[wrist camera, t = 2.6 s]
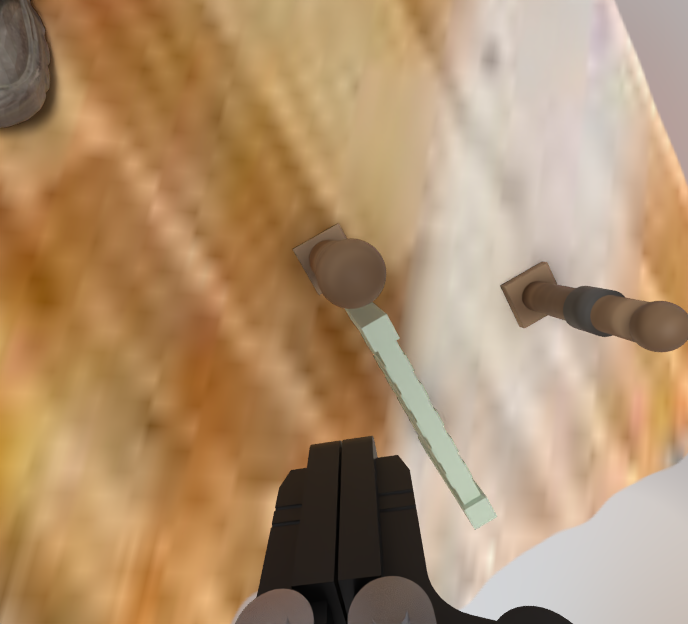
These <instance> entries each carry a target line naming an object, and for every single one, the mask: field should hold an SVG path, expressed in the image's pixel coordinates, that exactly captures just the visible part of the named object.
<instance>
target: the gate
mask: <svg viewBox="0 0 688 624" xmlns="http://www.w3.org/2000/svg"><path fill="white" fill-rule="evenodd" d="M345 310H346V312H347V314H348V315H349V317H350V319H351V320H352V322H353V323H354V324H355V326H356V327H357V329H358V330H359V331H360V333H361V335H362V337H363V339H364V340H365V342H366V344H367V346H368V347H369V349H370V350H371V351H372V353H373V354H374V358H375V360H376V362H377V363H378V365H379V367H380V368H381V370H382V371H383V373H384V374H385V376H386V379H387V381H388V383H389V384H390V386H391V388H392V390H393V391H394V393H395V394H396V396H397V399H398V400H399V402H400V404H401V406H402V407H403V409H404V411H405V412H406V414H407V415H408V417H409V420H410V422H411V423H412V425H413V427H414V429H415V430H416V432H417V433H418V435H419V436H418V439H419V440H420V442H421V444H422V446H423V447H424V449H425V451H426V453H427V454H428V456H429V457H430V459H431V461H432V462H433V464H434V465H435V467H436V469H437V470H438V472H439V473H440V475H441V476H442V478H443V480H444V481H445V483H446V484H447V486H448V488H449V489H450V491H451V492H452V494H453V496H454V497H455V499H456V500H457V502H458V503H459V505H460V507H461V508H462V510H463V511H464V513H465V515H466V516H467V518H468V519H469V521H470V523H471V524H472V526H473V527H474V529H475V530H476V529H477V528H479V527H481V526H483V525H484V524H486V523H488V522H489V521H491V520H493V519H494V518H496V517H497V515H496V513H495V512H494V510H493V508H492V506H491V504H490V502H489V501H488V499H487V497H486V496H485V494H484V493H483V492H482V490H481V489H480V488H479V486H478V485H477V484H476V482H475V481H474V480H473V478H472V475H471V473H470V471H469V469H468V468H467V466H466V464H465V462H464V461H463V460H462V458H461V457H460V456H459V454H458V452H459V451H458V449H457V448H456V446H455V444H454V442H453V440H452V438H451V437H450V436H449V434H448V433H447V432H446V430H445V428H444V427H443V426H444V424H443V422H442V420H441V418H440V417H439V415H438V413H437V411H436V410H435V409H434V407H433V406H432V405H431V403H430V401H429V399H430V398H429V396H428V395H427V393H426V391H425V389H424V387H423V385H422V384H421V382H420V381H419V380H418V379H417V377H416V376H415V374H414V372H413V371H414V369H413V367H412V365H411V364H410V362H409V360H408V358H407V356H406V355H405V354H404V353H403V352H402V350H401V348H400V346H399V345H398V343H397V341H396V340H398V339H400V338H399V336H398V334H397V332H396V330H395V328H394V327H393V325H392V323H391V321H390V319H389V317H388V316H387V314H386V313H385V312H384V311H382V310H381V309H380V308H379V307H377V306H376V305H375V304H374V303H373V302H371V303H370V304H368V305H366V306H364V307H361V308H356V309H346V308H345Z"/></svg>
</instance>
